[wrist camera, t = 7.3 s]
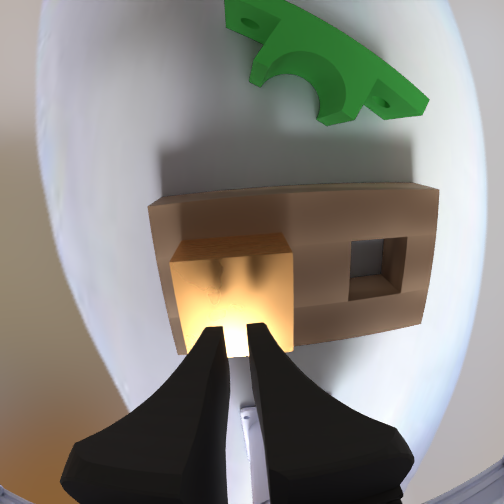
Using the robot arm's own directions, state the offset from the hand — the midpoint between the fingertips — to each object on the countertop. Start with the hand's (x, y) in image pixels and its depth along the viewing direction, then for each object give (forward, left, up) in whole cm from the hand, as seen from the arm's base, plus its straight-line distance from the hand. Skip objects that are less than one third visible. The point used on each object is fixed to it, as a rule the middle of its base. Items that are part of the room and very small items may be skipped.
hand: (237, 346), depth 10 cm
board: (0, -4, -8) cm, 9 cm away
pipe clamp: (+11, -5, -9) cm, 15 cm away
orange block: (0, 0, -8) cm, 8 cm away
